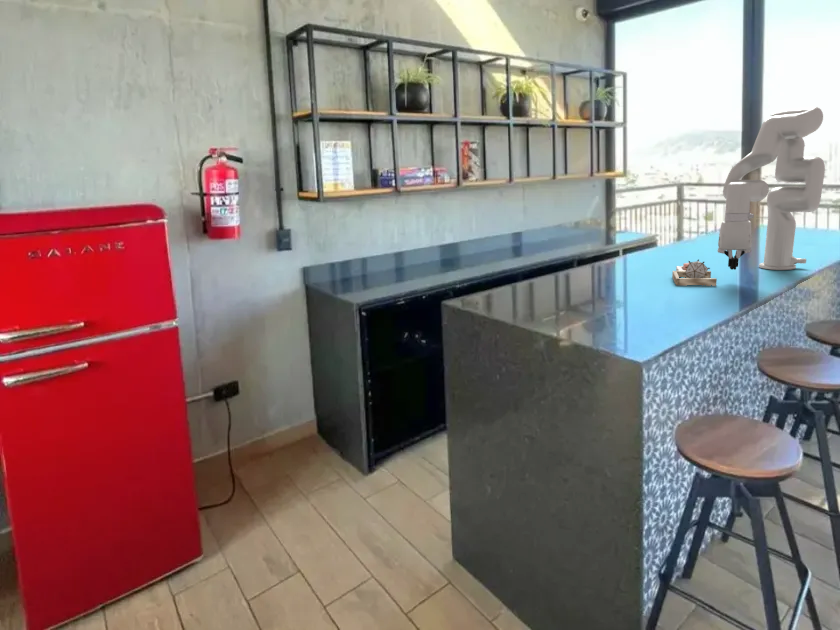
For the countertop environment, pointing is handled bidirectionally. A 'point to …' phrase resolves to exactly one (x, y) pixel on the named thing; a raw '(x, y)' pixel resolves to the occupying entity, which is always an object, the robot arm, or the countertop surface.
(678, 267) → the collar
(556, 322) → the countertop surface
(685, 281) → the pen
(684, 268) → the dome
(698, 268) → the game die
